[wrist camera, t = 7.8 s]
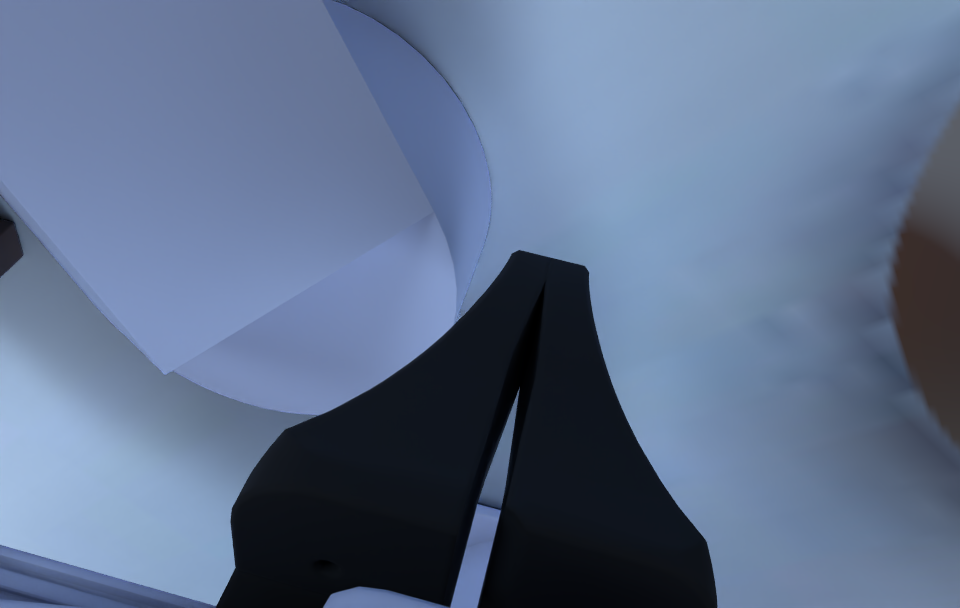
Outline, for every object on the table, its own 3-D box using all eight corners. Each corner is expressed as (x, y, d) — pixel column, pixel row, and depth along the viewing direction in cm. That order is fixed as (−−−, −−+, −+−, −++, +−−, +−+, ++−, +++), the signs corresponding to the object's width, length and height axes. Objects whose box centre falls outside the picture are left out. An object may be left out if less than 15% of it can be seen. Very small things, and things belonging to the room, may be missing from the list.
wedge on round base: (-80, -109, 17) (259, 348, 24) (-406, 11, 12) (137, 546, 19) (260, -328, 14) (549, 286, 20) (-10, -285, 9) (493, 511, 15)
